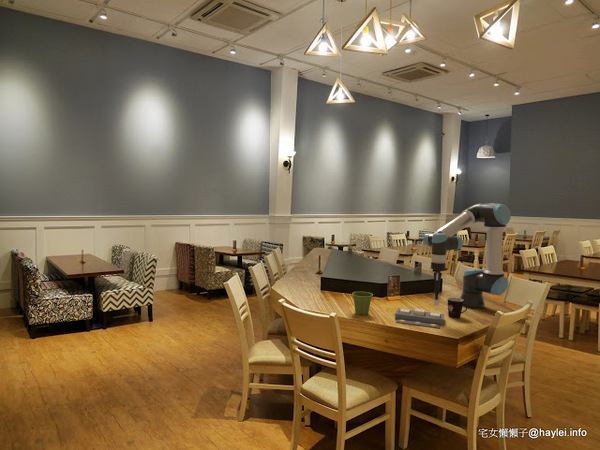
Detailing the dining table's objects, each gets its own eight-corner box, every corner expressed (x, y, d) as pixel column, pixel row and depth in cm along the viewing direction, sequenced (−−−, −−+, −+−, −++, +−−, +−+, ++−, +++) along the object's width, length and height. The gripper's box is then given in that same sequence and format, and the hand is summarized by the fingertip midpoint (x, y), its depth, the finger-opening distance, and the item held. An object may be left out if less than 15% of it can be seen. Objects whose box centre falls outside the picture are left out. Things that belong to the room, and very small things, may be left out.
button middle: (424, 313, 239) (425, 309, 239) (424, 316, 234) (424, 312, 234) (415, 312, 241) (415, 308, 240) (414, 315, 236) (414, 310, 236)
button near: (439, 318, 236) (440, 313, 236) (439, 320, 231) (439, 316, 231) (430, 316, 238) (430, 312, 238) (429, 319, 233) (430, 314, 233)
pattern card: (439, 325, 228) (439, 324, 228) (439, 328, 222) (439, 327, 222) (397, 319, 235) (397, 318, 235) (396, 322, 230) (396, 321, 230)
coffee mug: (443, 314, 249) (444, 297, 248) (458, 314, 249) (459, 297, 249) (452, 320, 237) (453, 302, 236) (467, 320, 238) (468, 302, 237)
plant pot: (355, 309, 253) (356, 290, 252) (375, 312, 247) (376, 293, 246) (347, 314, 243) (348, 294, 242) (367, 317, 237) (368, 297, 236)
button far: (409, 314, 242) (410, 309, 241) (408, 316, 237) (409, 312, 237) (400, 312, 243) (401, 308, 243) (399, 315, 239) (399, 310, 239)
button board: (443, 319, 239) (444, 314, 239) (442, 325, 228) (443, 319, 227) (398, 313, 247) (398, 308, 247) (394, 318, 236) (395, 313, 236)
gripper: (431, 259, 240) (429, 301, 242) (430, 263, 227) (428, 307, 229) (446, 260, 237) (443, 302, 239) (445, 264, 225) (442, 308, 227)
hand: (436, 304), depth 234 cm, fingers closed
